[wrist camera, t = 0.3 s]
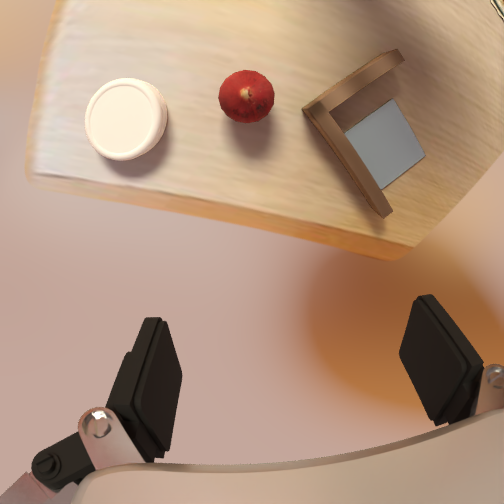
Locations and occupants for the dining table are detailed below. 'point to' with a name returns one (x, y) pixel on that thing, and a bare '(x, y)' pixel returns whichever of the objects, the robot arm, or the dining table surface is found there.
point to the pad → (385, 143)
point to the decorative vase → (499, 6)
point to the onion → (246, 96)
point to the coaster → (125, 119)
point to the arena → (335, 135)
